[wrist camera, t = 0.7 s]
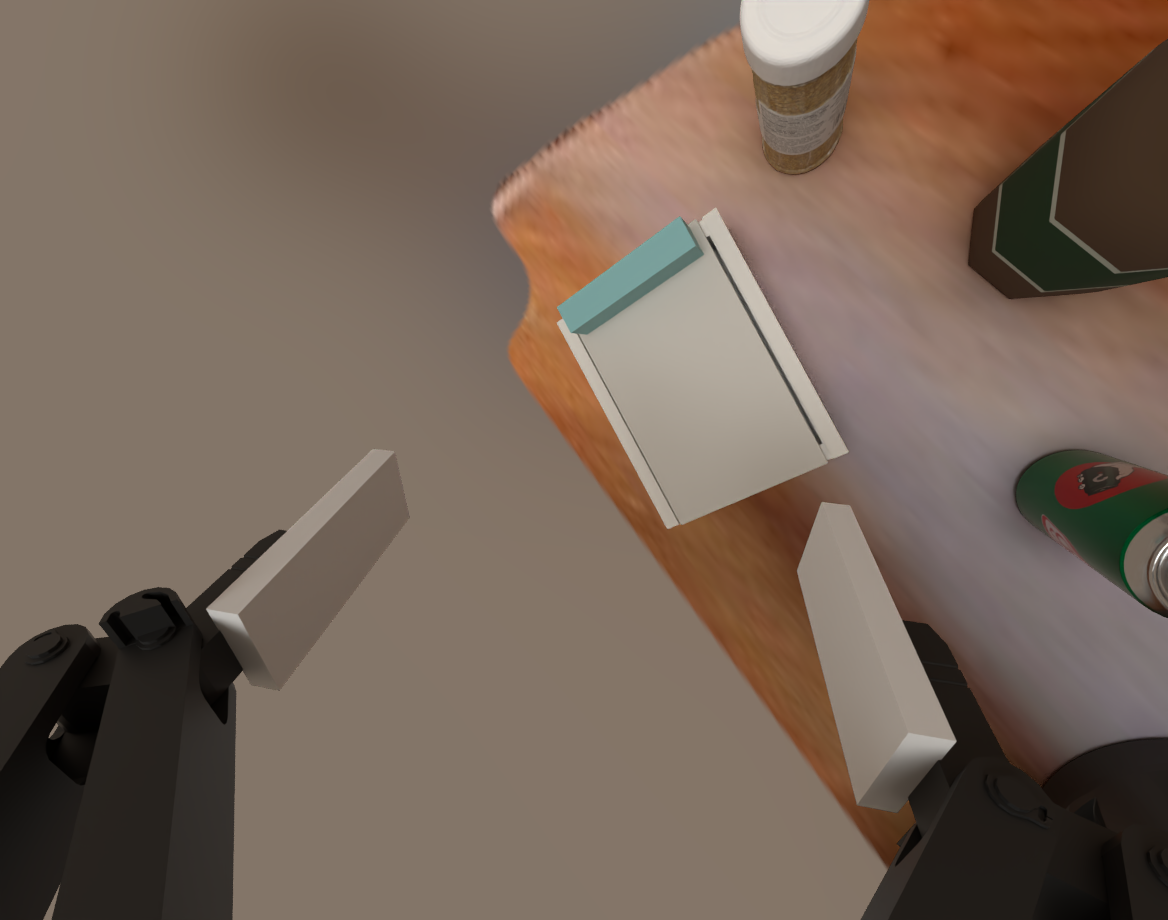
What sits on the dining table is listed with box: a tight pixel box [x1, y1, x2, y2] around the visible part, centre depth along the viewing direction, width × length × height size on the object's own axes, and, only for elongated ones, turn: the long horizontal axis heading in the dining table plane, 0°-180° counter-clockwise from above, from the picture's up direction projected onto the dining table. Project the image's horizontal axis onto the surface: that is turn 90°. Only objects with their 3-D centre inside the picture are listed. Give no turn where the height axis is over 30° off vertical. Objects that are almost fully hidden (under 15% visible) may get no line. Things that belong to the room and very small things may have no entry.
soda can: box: [1016, 450, 1168, 618], centre depth 23 cm, size 5×5×12 cm
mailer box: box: [557, 208, 849, 529], centre depth 33 cm, size 16×12×5 cm
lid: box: [557, 216, 828, 525], centre depth 29 cm, size 16×10×3 cm, turn 30°
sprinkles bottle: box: [740, 0, 869, 174], centre depth 24 cm, size 5×5×14 cm
